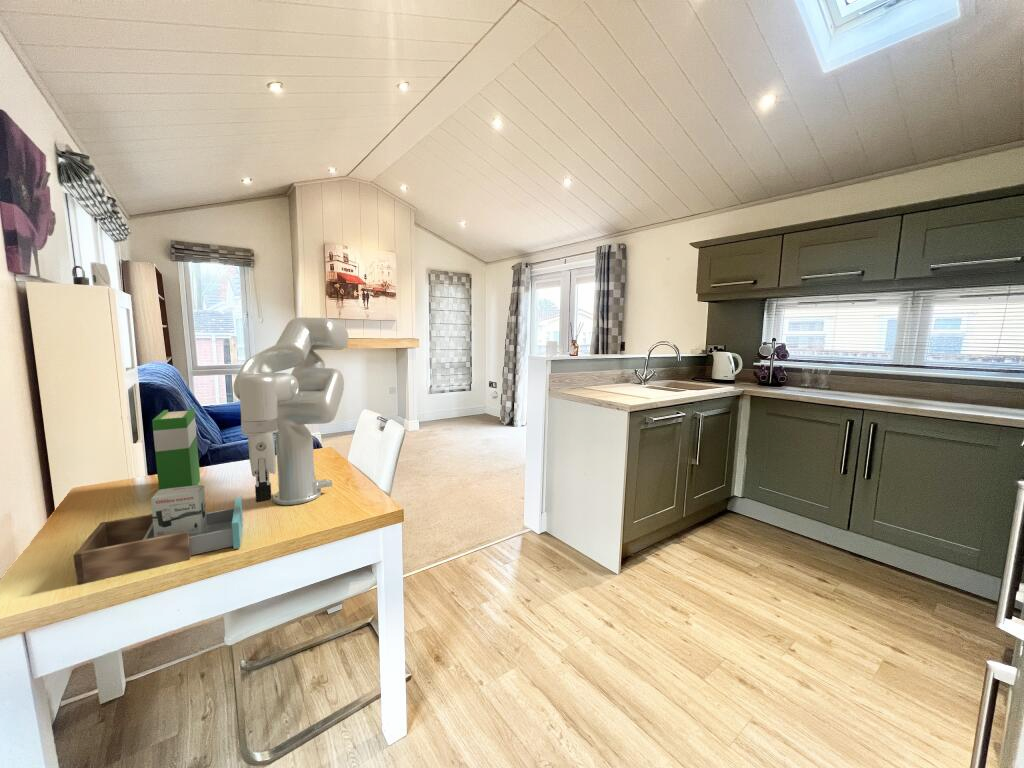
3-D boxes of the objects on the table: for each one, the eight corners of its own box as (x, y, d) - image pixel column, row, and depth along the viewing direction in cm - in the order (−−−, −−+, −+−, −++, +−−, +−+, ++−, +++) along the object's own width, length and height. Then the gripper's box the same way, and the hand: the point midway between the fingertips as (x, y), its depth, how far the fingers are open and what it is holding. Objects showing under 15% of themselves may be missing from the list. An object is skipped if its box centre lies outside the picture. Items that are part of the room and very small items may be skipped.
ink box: (153, 550, 87) (148, 497, 85) (161, 539, 91) (156, 489, 90) (203, 541, 91) (199, 491, 89) (208, 531, 95) (204, 483, 94)
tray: (242, 519, 104) (241, 497, 103) (240, 547, 90) (238, 522, 89) (155, 536, 95) (153, 511, 94) (137, 570, 81) (134, 542, 80)
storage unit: (199, 529, 99) (197, 506, 98) (189, 559, 86) (187, 532, 85) (103, 548, 90) (100, 522, 89) (77, 584, 77) (73, 555, 76)
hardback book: (171, 483, 129) (164, 410, 126) (200, 479, 133) (194, 407, 130) (160, 502, 114) (152, 420, 111) (193, 497, 118) (186, 417, 115)
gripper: (279, 430, 92) (282, 507, 94) (277, 420, 105) (280, 488, 106) (240, 433, 88) (244, 514, 90) (242, 423, 101) (246, 493, 102)
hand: (263, 500), depth 98 cm, fingers closed
